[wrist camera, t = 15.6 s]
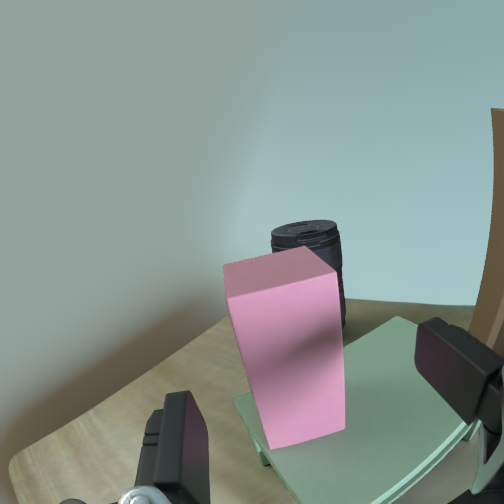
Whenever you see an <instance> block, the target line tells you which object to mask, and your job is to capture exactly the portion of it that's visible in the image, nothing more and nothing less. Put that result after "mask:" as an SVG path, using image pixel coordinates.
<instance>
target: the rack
mask: <svg viewBox="0 0 504 504" xmlns="http://www.w3.org/2000/svg"><path fill="white" fill-rule="evenodd" d="M417 327H418V325H417V324H415V323H412V322H410V321H408V320H406V319H404V318H401V317H399V316H395V317H393V318H392V319H390V320H389V321H387V322H386V323H384V324H382V325H381V326H379V327H377V328H376V329H374V330H372V331H371V332H369V333H367V334H366V335H364V336H362V337H360V338H359V339H357V340H355V341H353V342H352V343H350V344H348V345H346V346H345V347H343V356H344V380H345V429H343V430H340V431H337V432H334V433H331V434H328V435H325V436H322V437H318V438H315V439H312V440H308V441H305V442H301V443H297V444H294V445H290V446H286V447H282V448H277V449H273V450H270V449H269V446H268V443H267V440H266V437H265V434H264V431H263V428H262V424H261V421H260V418H259V415H258V412H257V408H256V405H255V402H254V398H253V395H252V392H249V393H247V394H244V395H242V396H239V397H237V398H234V399H233V401H234V403H235V406H236V409H237V411H238V413H239V414H240V416H241V418H242V419H243V421H244V423H245V425H246V427H247V430H248V433H249V435H250V438H251V441H252V443H253V446H254V448H255V451H256V454H257V456H258V458H259V460H260V462H261V463H262V465H263V466H265V465H267V464H271V465H272V467H273V468H274V470H275V471H276V473H277V474H278V476H279V477H280V479H281V480H282V482H283V483H284V484H285V486H286V487H287V489H288V490H289V492H290V493H291V494H292V496H293V497H294V498H295V500H296V501H297V503H298V504H391V503H393V502H394V501H395V500H396V499H398V498H399V497H400V496H402V495H403V494H404V493H405V492H407V491H408V490H409V489H410V488H411V487H413V486H414V485H415V484H416V483H417V482H418V481H419V480H421V479H422V478H423V477H424V476H425V475H426V474H427V473H428V472H429V471H430V470H432V469H433V468H434V467H435V466H436V465H437V464H438V463H439V462H440V461H441V460H442V459H443V458H444V457H445V456H446V455H447V454H448V453H449V452H450V451H451V450H452V449H453V448H454V446H455V445H456V444H457V443H458V442H459V441H460V440H461V439H462V438H463V439H465V440H467V441H470V439H471V438H472V437H473V436H474V435H475V433H476V431H477V429H478V427H479V425H480V423H481V421H480V420H479V419H477V420H476V421H474V422H473V423H471V424H470V425H469V426H468V425H467V424H466V423H465V422H464V421H463V420H462V419H461V418H460V417H459V415H458V414H457V413H456V412H455V411H454V410H453V409H452V408H451V407H450V406H449V405H448V403H447V402H446V401H445V400H444V399H443V398H442V397H441V396H440V395H439V394H438V393H437V392H436V391H435V389H434V388H433V387H432V386H431V385H430V384H429V383H428V382H427V381H426V380H425V379H424V378H423V377H422V376H421V375H420V374H419V372H418V371H417V369H416V366H415V363H414V354H415V345H416V333H417Z"/></svg>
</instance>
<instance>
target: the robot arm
mask: <svg viewBox="0 0 504 504" xmlns="http://www.w3.org/2000/svg"><path fill="white" fill-rule="evenodd" d="M414 363H415V366H416V369H417V371H418V372H419V374H420V375H421V376H422V377H423V378H424V379H425V380H426V381H427V382H428V383H429V384H430V385H431V386H432V387H433V388H434V389H435V391H436V392H437V393H438V394H439V395H440V396H441V397H442V398H443V399H444V400H445V401H446V402H447V403H448V405H449V406H450V407H451V408H452V409H453V410H454V411H455V412H456V413H457V414H458V415H459V417H460V418H461V419H462V420H463V421H464V422H465V423H466V424H467V425H468V426H469V425H470V424H471V423H473V422H474V421H476V420H477V419H479V420H480V421H481V424H480V427H479V457H478V470H477V474H476V477H475V479H474V482H473V485H472V488H471V491H470V489H468V490H467V491H465V492H464V493H463V494H461V495H460V496H458V497H457V498H455V499H454V500H452V501H451V502H449V503H447V504H504V358H503V357H501V356H500V355H499V354H497V353H496V352H495V351H493V350H492V349H491V348H489V347H488V346H486V345H485V344H484V343H482V342H480V340H478V339H477V338H476V337H472V335H471V334H470V333H469V332H467V331H466V330H464V329H463V328H460V327H457V326H454V325H451V324H450V325H449V324H447V323H446V322H445V321H443V320H442V319H440V318H439V317H434V318H432V319H430V320H428V321H425V322H423V323H421V324H419V325H418V327H417V333H416V345H415V354H414ZM144 434H145V436H144V438H143V443H142V444H143V447H142V448H141V454H140V459H139V464H138V470H137V475H136V481H135V485H134V487H133V488H131V489H129V490H127V491H126V492H125V493H123V495H122V496H121V497H120V499H119V501H118V502H116V503H112V504H210V485H209V451H208V431H207V427H206V423H205V421H204V418H203V416H202V414H201V412H200V410H199V408H198V406H197V404H196V402H195V400H194V397H193V395H192V393H191V392H190V391H189V390H188V391H181V392H175V393H168V394H166V397H165V403H164V409H161V410H155V411H154V412H153V414H152V415H151V417H150V418H149V419H148V421H147V424H146V429H145V433H144ZM59 504H86V503H85V502H83V501H81V500H79V499H67V500H64V501H62V502H61V503H59Z"/></svg>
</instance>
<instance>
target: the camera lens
mask: <svg viewBox="0 0 504 504" xmlns="http://www.w3.org/2000/svg"><path fill="white" fill-rule="evenodd" d="M271 236H272V240H271V247H272V253H276V252H281V251H285V250H289V249H294V248H298V247H302V246H306V247H307V248H308V249H310V250H311V251H312V252H313V253H314V254H316V255H317V256H318V257H319V258H320V259H322V260H323V261H324V262H325V263H326V264H328V265H329V266H330V267H331V268H332V269H334V270H335V271H336V272H337V279H338V289H339V300H340V311H341V324H342V335H343V328H344V326H345V314H346V307H345V297H344V289H343V281H342V253H341V242H340V235H339V231H338V230H337V225H336V223H335V222H333V221H329V220H312V221H302V222H296V223H291V224H287V225H284V226H280V227H278V228H276V229H274V230H272V232H271Z"/></svg>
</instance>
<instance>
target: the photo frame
mask: <svg viewBox="0 0 504 504" xmlns="http://www.w3.org/2000/svg"><path fill="white" fill-rule="evenodd" d="M491 115H492V128H493V147H494V185H493V203H492V215H491V225H490V233H489V241H488V248H487V254H486V260H485V266H484V271H483V276H482V281H481V285H480V290H479V294H478V298H477V302H476V306H475V310H474V313H473V317H472V320H471V324H470V327H469V330H468V332H469V333H470V334H471V335H472V337H476V338H477V339H478V340H480V342H482V343H484V344H485V345H486V346H488V347H489V348H491V349H492V350H493V351H495V352H496V353H497V354H499V355H500V356H501V357H503V358H504V109H498V108H491Z"/></svg>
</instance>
